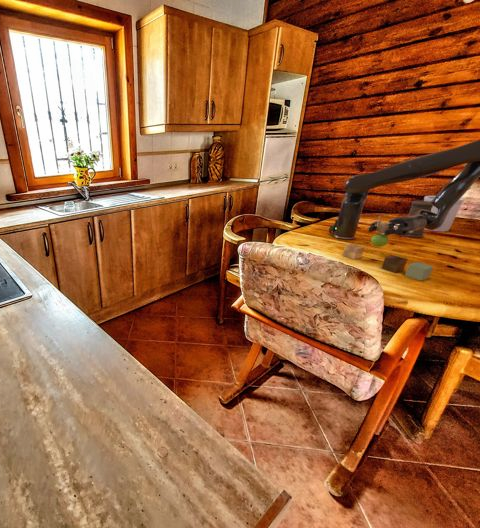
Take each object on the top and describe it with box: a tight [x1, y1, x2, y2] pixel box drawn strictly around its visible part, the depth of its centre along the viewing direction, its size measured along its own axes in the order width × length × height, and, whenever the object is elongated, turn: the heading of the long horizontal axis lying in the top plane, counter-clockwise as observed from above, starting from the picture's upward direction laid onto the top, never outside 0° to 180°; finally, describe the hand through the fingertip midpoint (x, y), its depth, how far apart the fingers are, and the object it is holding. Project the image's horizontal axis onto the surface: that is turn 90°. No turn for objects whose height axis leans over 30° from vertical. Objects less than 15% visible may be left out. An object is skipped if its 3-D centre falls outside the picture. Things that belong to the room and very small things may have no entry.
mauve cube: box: [342, 243, 365, 260], centre depth 127 cm, size 5×5×5 cm
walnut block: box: [381, 254, 409, 274], centre depth 113 cm, size 5×5×5 cm
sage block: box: [404, 261, 434, 282], centre depth 106 cm, size 5×5×5 cm
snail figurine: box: [370, 216, 389, 248], centre depth 116 cm, size 5×6×12 cm
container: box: [402, 200, 433, 239], centre depth 147 cm, size 9×9×18 cm
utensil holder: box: [423, 195, 465, 233], centre depth 155 cm, size 15×15×18 cm
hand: (377, 231), depth 114 cm, fingers closed on snail figurine, 5 cm apart
